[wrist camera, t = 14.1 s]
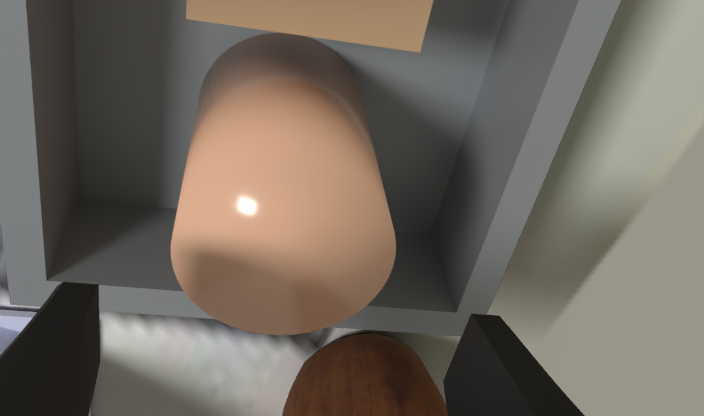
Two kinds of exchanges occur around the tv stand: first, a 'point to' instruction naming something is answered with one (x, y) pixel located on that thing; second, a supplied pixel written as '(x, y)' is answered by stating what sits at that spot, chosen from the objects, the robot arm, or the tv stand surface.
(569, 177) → the tv stand surface
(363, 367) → the wooden figurine
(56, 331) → the robot arm
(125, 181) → the tote
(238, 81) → the terracotta cylinder
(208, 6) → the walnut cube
